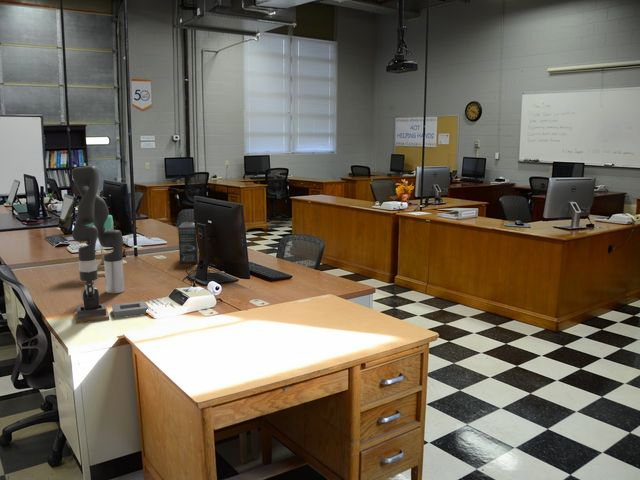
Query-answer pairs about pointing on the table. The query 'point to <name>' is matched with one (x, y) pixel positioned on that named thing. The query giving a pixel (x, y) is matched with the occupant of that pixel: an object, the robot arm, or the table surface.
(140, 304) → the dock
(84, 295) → the battery
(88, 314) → the tray
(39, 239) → the table surface
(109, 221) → the banker's lamp
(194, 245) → the computer tower
